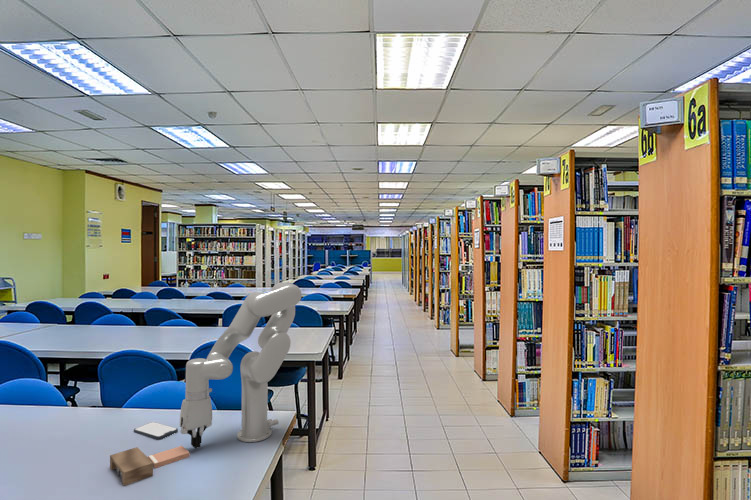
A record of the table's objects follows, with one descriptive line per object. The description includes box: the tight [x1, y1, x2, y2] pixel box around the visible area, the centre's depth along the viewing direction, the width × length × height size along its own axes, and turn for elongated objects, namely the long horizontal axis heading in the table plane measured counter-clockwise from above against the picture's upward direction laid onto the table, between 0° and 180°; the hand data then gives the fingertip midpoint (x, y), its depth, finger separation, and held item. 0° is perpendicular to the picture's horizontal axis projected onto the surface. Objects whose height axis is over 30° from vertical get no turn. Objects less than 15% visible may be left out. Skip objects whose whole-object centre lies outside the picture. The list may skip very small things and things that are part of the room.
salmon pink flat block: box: [147, 445, 191, 469], centre depth 141 cm, size 11×7×2 cm, turn 134°
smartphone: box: [133, 421, 179, 441], centre depth 162 cm, size 9×2×16 cm
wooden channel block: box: [109, 447, 154, 487], centre depth 133 cm, size 8×15×4 cm, turn 46°
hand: (196, 446), depth 148 cm, fingers closed
